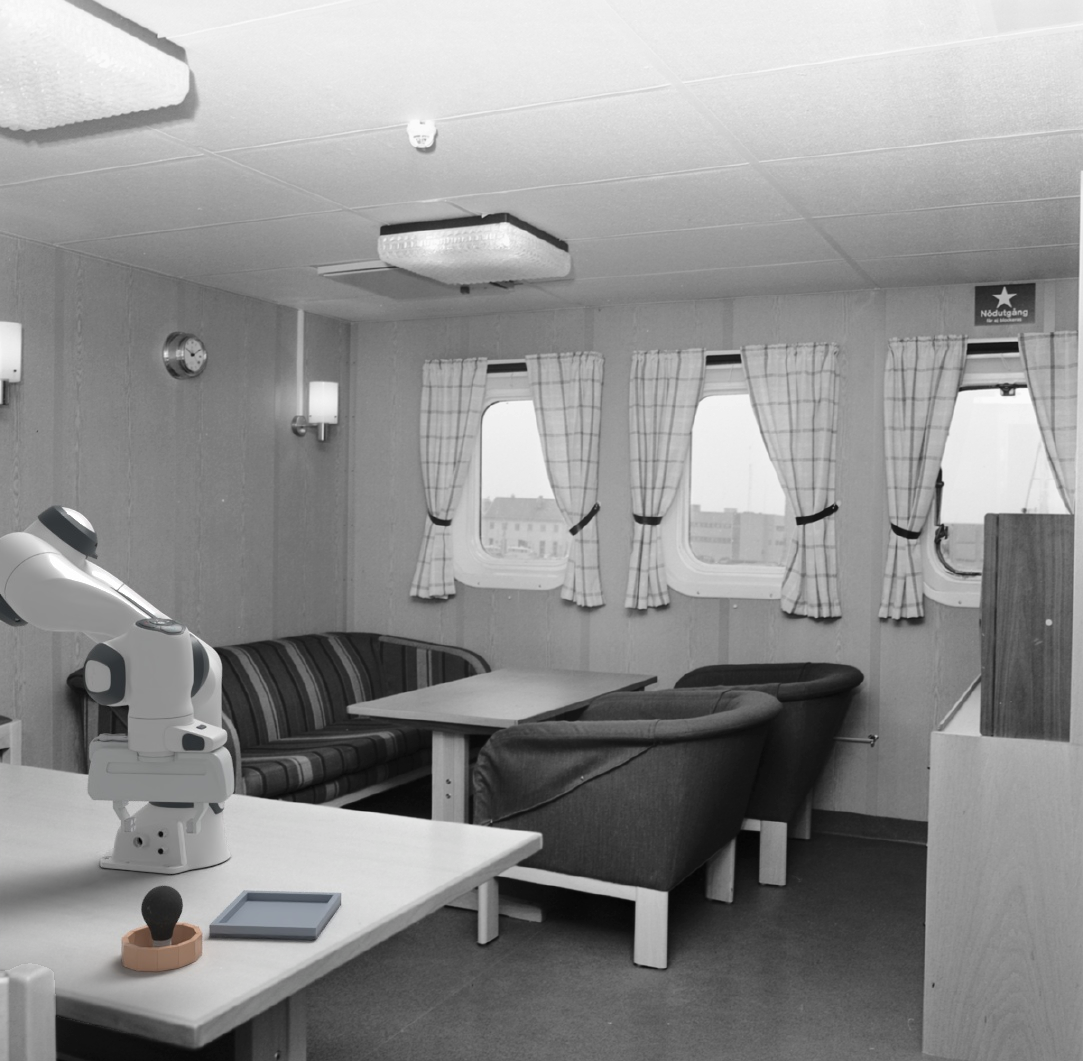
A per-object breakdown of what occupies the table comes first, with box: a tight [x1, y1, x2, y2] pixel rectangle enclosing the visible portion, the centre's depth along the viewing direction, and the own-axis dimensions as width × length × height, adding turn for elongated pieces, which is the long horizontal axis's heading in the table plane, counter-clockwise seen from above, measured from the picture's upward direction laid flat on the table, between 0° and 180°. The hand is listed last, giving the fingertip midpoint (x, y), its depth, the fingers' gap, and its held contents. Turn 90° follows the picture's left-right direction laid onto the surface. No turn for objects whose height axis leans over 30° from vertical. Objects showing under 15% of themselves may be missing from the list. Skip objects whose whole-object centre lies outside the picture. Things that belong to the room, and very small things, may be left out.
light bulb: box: [141, 885, 184, 947], centre depth 165 cm, size 6×6×10 cm
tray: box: [208, 889, 342, 941], centre depth 181 cm, size 16×16×2 cm
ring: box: [120, 922, 203, 972], centre depth 166 cm, size 11×11×3 cm
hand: (160, 832), depth 165 cm, fingers open, 8 cm apart
